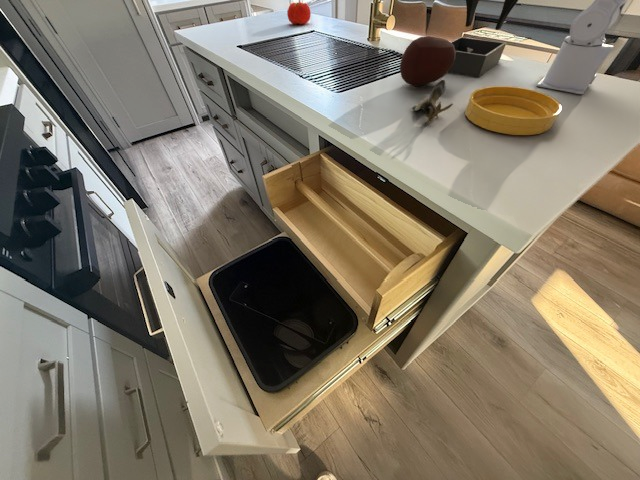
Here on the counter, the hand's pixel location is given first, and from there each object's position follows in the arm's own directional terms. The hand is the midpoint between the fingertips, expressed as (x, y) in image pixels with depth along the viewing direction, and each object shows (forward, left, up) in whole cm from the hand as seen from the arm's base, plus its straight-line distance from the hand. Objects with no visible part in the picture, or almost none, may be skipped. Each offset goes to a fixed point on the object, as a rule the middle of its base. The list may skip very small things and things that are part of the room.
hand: (482, 27), depth 70 cm
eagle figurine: (-6, +36, -9) cm, 38 cm away
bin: (+1, -1, -9) cm, 9 cm away
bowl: (-19, +27, -9) cm, 34 cm away
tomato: (+88, -19, -9) cm, 91 cm away
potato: (+4, +20, -9) cm, 23 cm away
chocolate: (+1, -1, -9) cm, 9 cm away
